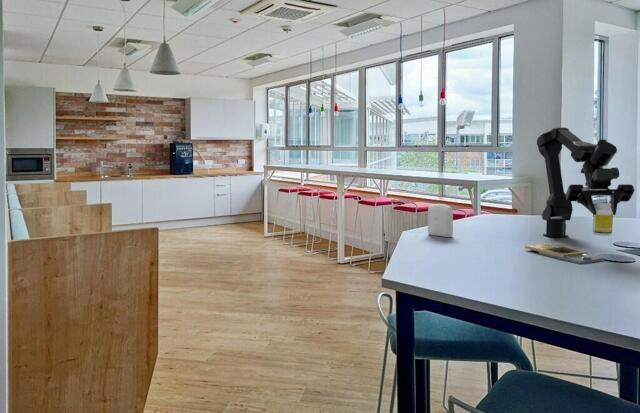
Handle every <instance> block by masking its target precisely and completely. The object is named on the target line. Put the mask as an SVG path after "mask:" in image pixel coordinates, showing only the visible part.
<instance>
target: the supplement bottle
mask: <svg viewBox="0 0 640 413" xmlns="http://www.w3.org/2000/svg"><path fill="white" fill-rule="evenodd" d="M595 208H596V209H595V210H596V214H595V215H593V214H592V215H593V216H592V217H593V219H592V234H593V235H594V236H595V235H596V236H605V237H606V236H609V237H610V236H612V235H613V223H614V222H613V221H614V220H613V219H614V215H613V212H612V210H611V203H609V202H597V203H596V205H595Z"/></svg>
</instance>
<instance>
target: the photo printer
mask: <svg viewBox="0 0 640 413" xmlns="http://www.w3.org/2000/svg"><path fill="white" fill-rule="evenodd" d="M427 208H428V209H427V234H428V235H429V236H430V235H431V236H439V237H444V238H451V237H453V235H454V211H453V208H452V207H451V206H450V205H447V204H444V203H435V204H431V205H429V206H428V207H427Z"/></svg>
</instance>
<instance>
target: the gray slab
mask: <svg viewBox="0 0 640 413" xmlns="http://www.w3.org/2000/svg"><path fill="white" fill-rule="evenodd" d="M524 248H525V249H528V250H531V251H533V252H538V254H539V255H542V256H547V257H550V258H553V259H559V260H563V261H567V262H571V263H574V264H578V265H583V264H589V263H597V262H604V261H606V258H605V257H602V256H597V255H593V254H590V253H589V251H585V250H582V249H578V248H572V247H568V246H563V245H559V244H556V243H555V244H554V243H550V242H545V243H538V244H537V243H536V244H529V245H525V246H524Z"/></svg>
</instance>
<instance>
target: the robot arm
mask: <svg viewBox="0 0 640 413" xmlns="http://www.w3.org/2000/svg"><path fill="white" fill-rule="evenodd" d="M596 143H597V144H596V145H595V144H594V143H591V142H585V141H583V140H581V139H580V138H579V137H577V135H575V134H574V133H573V132H572V131H570V129H569V128H568V127H563V126H562V127H555V128H552V129H551V130H549V131H546V132H544V133H542V134H540V135H539V137H538V138H537V139H536V145H537V150H538V152H539V154H540V155H541V156H542V157H543V158H544V162H545V169H546V176H547V184H548V190H549V196H548V197H547V200H546V202H545V203H546V206H545V209H544V210H543V211H542V213H541V219H542V221H543V220H544V221H546V227H545V230H546V231H545V233H543V234H542V236H545V237H549V238H555V239H557V238H566V237H569V234H567V232H566V230H567V224H566V221H571V219H572V215H573V214H572V213H573V211H574V209H573V203H572V202H577V204H581V205H582V206H583V207H585V208H586V209H587V210H588V211H589V212H590V213H591V214H592V215H595V214H596V210H597V209H596V205H595V204H594V200H593V198H592V197H609V198H610V200H609V202H608V203H611V208H610V210H611V211H612V212H613V216H615V215H616V214H617V208H618V204H619V203H623V202H625V203H626V202H629V201H630V200H631V198H632V197H633V194H634V192H635V191H636V190H635V187H634V185H633V184H630V183H629V184H628V183H627V184H625V183H624V184H618V185H617V188H616V189H615V188H609V187H611V186H612V182H611V181H613V180H618V178H619V177H620V170H619V168H618V167H610V168H609V167H608V168H604V167H606V166H608V165H609V163H610V162H611V160H612V159H613V158H614V157H615V155H616V153H617V151H618V149H617V147H616V146H615V145H614V144H612V143H611V142H608V141H607V140H606V139H599V140H598V142H596ZM563 146H564V147H565V148H567V150H569V151H570V157H571V158H572V159H573V161H574V162H575V163H583V164H582V168H581V169H580V173H581V174H584V177H585V178H584V179H585V186H584V184H579V183H578V184H574V183H573V184H571V183H570V184H569V185H568V187H567V190H566V192H565V191H564V190H565V189H564V183H563V176H562V169H561V163H560V157H559V156H560V153H561V151H562V150H563Z"/></svg>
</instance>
